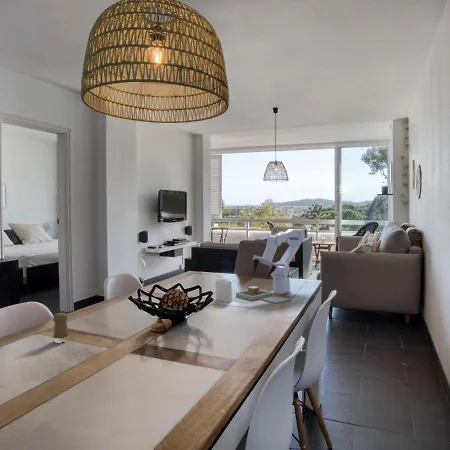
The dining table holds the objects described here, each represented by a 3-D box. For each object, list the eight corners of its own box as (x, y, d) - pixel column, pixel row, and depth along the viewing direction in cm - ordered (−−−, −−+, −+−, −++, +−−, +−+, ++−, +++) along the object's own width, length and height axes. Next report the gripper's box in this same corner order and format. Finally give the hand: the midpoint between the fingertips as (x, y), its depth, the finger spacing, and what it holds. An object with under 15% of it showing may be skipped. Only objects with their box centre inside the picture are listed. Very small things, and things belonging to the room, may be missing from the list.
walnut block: (253, 295, 221) (253, 286, 221) (259, 296, 217) (259, 287, 217) (248, 296, 219) (247, 287, 219) (254, 297, 215) (253, 288, 215)
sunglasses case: (161, 318, 181) (167, 306, 180) (174, 327, 180) (181, 314, 179) (146, 331, 163) (154, 318, 162) (160, 340, 162) (168, 327, 161)
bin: (254, 293, 228) (254, 288, 228) (271, 297, 217) (271, 292, 217) (236, 297, 219) (235, 292, 219) (252, 301, 208) (252, 296, 208)
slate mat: (276, 297, 216) (276, 295, 216) (291, 301, 207) (291, 299, 207) (261, 300, 209) (261, 298, 209) (276, 304, 201) (276, 302, 201)
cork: (73, 339, 156) (71, 311, 156) (62, 344, 150) (60, 316, 150) (60, 337, 158) (59, 310, 158) (49, 343, 152) (48, 315, 152)
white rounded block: (214, 299, 214) (214, 277, 214) (221, 298, 217) (220, 276, 216) (226, 303, 206) (226, 279, 206) (233, 301, 209) (232, 278, 208)
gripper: (258, 246, 215) (249, 267, 209) (282, 256, 214) (274, 278, 208) (255, 251, 221) (247, 272, 215) (279, 261, 220) (271, 282, 214)
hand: (260, 275), depth 212 cm, fingers open, 7 cm apart
